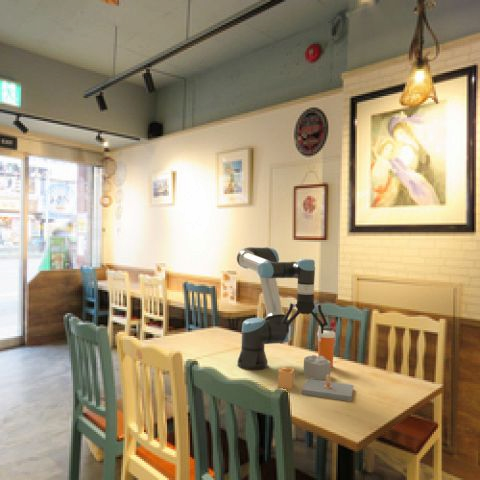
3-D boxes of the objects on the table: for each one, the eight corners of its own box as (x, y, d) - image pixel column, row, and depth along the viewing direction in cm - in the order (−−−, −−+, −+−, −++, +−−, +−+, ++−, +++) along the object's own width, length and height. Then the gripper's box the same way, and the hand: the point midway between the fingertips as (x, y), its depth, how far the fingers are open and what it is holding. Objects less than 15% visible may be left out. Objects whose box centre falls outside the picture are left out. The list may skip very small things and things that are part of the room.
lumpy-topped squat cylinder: (317, 381, 185) (317, 362, 185) (298, 372, 196) (298, 354, 196) (333, 377, 191) (333, 358, 191) (314, 369, 202) (314, 352, 202)
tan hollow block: (277, 387, 176) (278, 369, 176) (281, 382, 181) (281, 365, 181) (291, 389, 174) (292, 371, 174) (294, 384, 180) (294, 367, 180)
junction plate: (301, 394, 168) (302, 377, 168) (307, 383, 182) (307, 367, 182) (351, 401, 162) (351, 383, 162) (353, 389, 175) (353, 373, 175)
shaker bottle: (334, 370, 202) (335, 329, 201) (316, 368, 203) (317, 328, 203) (334, 364, 210) (335, 326, 210) (316, 363, 212) (317, 325, 212)
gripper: (278, 293, 180) (277, 341, 180) (335, 295, 179) (333, 343, 179) (277, 291, 187) (276, 337, 188) (331, 293, 187) (330, 339, 187)
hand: (304, 340), depth 183 cm, fingers open, 13 cm apart
